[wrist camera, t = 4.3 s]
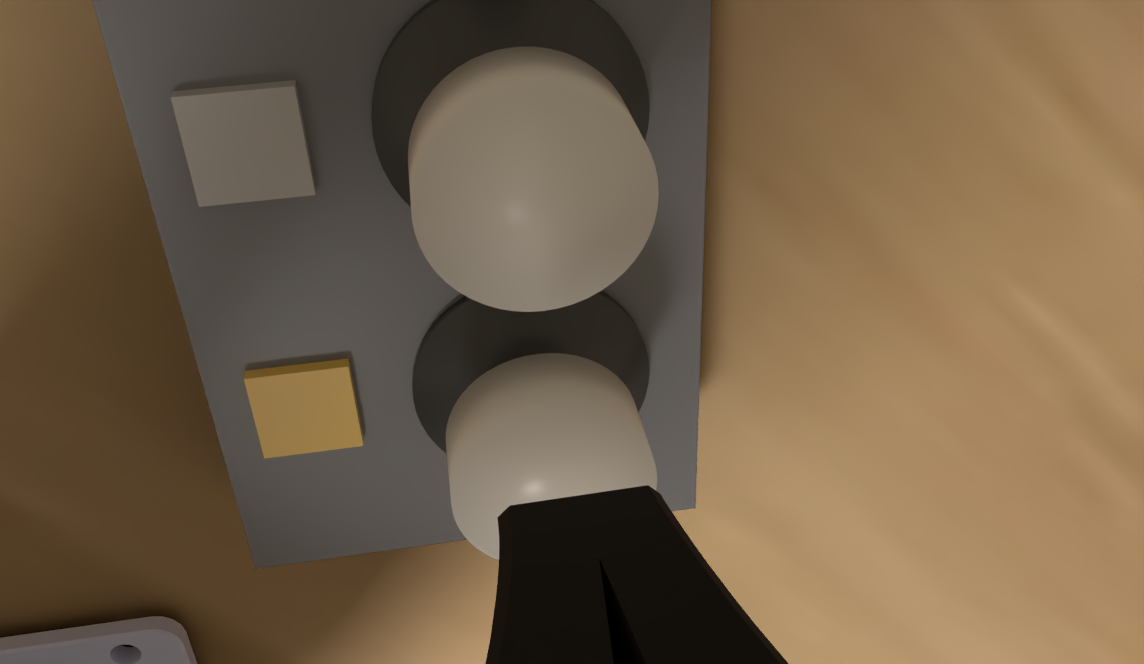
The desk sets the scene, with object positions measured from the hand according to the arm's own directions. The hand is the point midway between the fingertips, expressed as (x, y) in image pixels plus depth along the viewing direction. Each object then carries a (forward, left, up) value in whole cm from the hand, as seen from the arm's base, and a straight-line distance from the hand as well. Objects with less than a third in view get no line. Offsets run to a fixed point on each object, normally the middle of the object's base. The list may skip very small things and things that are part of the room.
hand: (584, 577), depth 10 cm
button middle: (0, +2, -4) cm, 5 cm away
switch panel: (-1, +2, -8) cm, 8 cm away
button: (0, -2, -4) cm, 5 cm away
